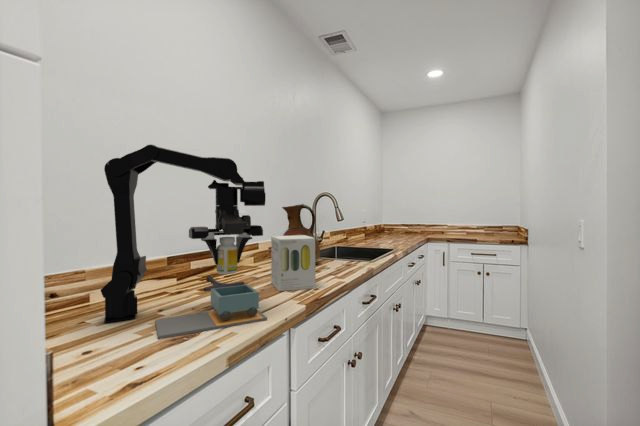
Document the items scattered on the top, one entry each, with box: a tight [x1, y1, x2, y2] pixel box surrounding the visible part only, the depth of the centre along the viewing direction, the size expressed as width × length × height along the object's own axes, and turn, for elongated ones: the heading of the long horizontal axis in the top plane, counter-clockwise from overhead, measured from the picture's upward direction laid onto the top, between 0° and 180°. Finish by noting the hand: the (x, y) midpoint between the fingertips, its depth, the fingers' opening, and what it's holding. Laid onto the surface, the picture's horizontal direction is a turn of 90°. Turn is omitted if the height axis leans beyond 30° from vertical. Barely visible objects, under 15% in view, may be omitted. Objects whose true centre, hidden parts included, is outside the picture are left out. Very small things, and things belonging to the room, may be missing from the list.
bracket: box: [203, 275, 245, 292], centre depth 119 cm, size 14×15×3 cm
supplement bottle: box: [216, 236, 238, 275], centre depth 89 cm, size 5×5×10 cm
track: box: [154, 309, 268, 340], centre depth 80 cm, size 24×12×1 cm, turn 119°
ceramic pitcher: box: [281, 203, 321, 262], centre depth 162 cm, size 20×20×30 cm
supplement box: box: [270, 235, 316, 292], centre depth 116 cm, size 13×13×18 cm
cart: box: [210, 284, 260, 321], centre depth 82 cm, size 10×10×6 cm
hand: (227, 263), depth 89 cm, fingers closed on supplement bottle, 5 cm apart
